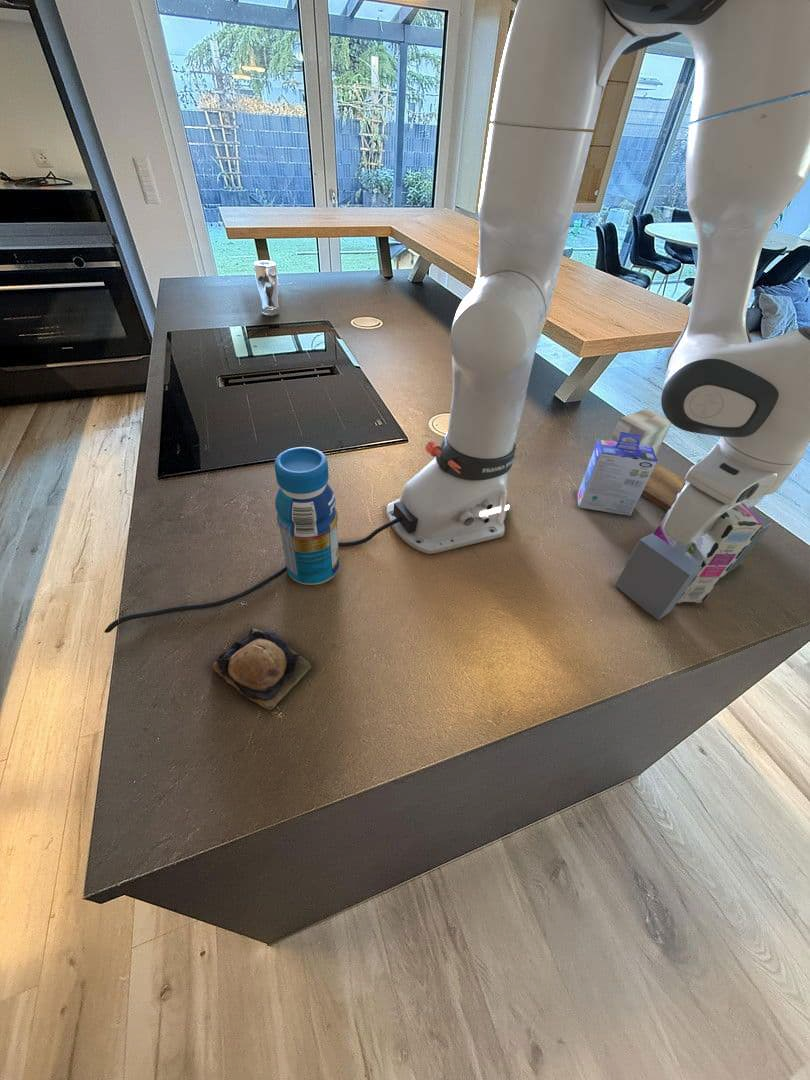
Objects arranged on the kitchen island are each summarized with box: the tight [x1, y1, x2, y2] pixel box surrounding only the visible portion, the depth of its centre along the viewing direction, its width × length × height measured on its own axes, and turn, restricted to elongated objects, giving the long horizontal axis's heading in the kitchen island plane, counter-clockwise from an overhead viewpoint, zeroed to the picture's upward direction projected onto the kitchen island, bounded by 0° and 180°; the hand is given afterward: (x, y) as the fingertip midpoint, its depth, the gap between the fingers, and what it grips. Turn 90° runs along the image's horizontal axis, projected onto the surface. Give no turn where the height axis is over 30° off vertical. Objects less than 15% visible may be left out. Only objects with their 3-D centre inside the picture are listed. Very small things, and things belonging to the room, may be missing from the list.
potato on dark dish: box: [212, 628, 312, 711], centre depth 58 cm, size 11×8×4 cm
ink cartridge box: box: [577, 432, 658, 517], centre depth 84 cm, size 10×6×14 cm, turn 78°
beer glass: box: [253, 260, 280, 317], centre depth 152 cm, size 7×7×15 cm
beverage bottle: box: [274, 446, 340, 586], centre depth 66 cm, size 8×8×20 cm
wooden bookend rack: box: [610, 408, 704, 512], centre depth 90 cm, size 11×23×11 cm, turn 33°
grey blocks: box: [614, 509, 773, 621], centre depth 72 cm, size 22×8×10 cm, turn 123°
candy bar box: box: [653, 481, 764, 605], centre depth 69 cm, size 11×5×16 cm, turn 5°
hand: (695, 541), depth 69 cm, fingers closed on candy bar box, 6 cm apart
